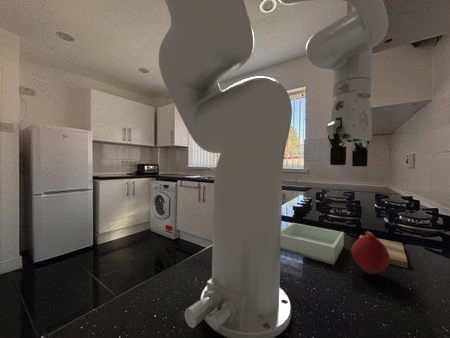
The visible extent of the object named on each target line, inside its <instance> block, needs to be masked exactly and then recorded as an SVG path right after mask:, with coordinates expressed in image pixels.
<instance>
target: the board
mask: <svg viewBox="0 0 450 338" xmlns="http://www.w3.org/2000/svg"><path fill="white" fill-rule="evenodd" d="M363 236H364V235H362V234H360V235H359V237H358V239H359V238H361V237H363ZM376 238H377V237H376ZM377 239H378V240H379V241H381V242H382V244H383V245H384V246H385V248H386V249H387V251H388V254H389V259H390V260H389V265H393V266H397V267H402V268H406V269H408V259H407V256H406V252H405V248H404V245H403V243H402V242H398V241H393V240H387V239H383V238H377Z"/></svg>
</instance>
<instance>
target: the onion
mask: <svg viewBox="0 0 450 338" xmlns="http://www.w3.org/2000/svg"><path fill="white" fill-rule="evenodd" d="M364 234H365V235H362V236H363V237H361V238H359V237H358V239H356V240H355V241H354V242H353V244H352V246H351V249H350V250H351V256H352V259H353V261H354V262H355V263H356V265H358V266H359V268H361V269H362V270H363V271H364V272H365V273H366V274H368V275H373V274H378V273H381V272H383V271H384V270H386V269H387V267H388V266H389V265H390V264H389V260H390V259H389V254H388V251H387V249H386V248H385V246H384V245H383V244H382V242H381V241H379V240H378V239H379V238H378V239H377V237H376V236H375V235H374V234H373V233H372V232H370V231H365V233H364Z"/></svg>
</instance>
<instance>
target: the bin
mask: <svg viewBox="0 0 450 338" xmlns="http://www.w3.org/2000/svg"><path fill="white" fill-rule="evenodd" d="M344 239H345V232H344V231H338V230H333V229H329V228H328V229H327V228H323V227H316V226H311V225H307V224H301V223H295V222H292V223H290V224H289V225H287V226H286V227H284V228H281V246H280V249H282V250H281V251H283V250H284V252H287V253H290V254H295V255H298V256H302V257H306V258H307V259H308V258H309V259H311V260H312V259H313V260H315V261H319V262H321V263H322V262H323V263H326V264H329V265H332V266H334V265H335V264H336V262H337V260H338V258H339V256H340V254H341V252H342V250H343V248H344V246H345V245H344V243H345V241H344Z"/></svg>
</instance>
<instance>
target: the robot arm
mask: <svg viewBox="0 0 450 338" xmlns="http://www.w3.org/2000/svg"><path fill="white" fill-rule="evenodd" d="M278 1H279V2H280V3H281V4H282V5H287V6H288V5H295V4H299V3H300V4H301V3H304V2H311V1H312V0H278ZM342 1H344V2H346V3H348V4H349V5H351V6H352V7H353V8H354V9H355V10H353V11H351V12H349V13H348V14H346V15H344V16H342V17H340V18H339V19H337V20H336V21H333V22H332V23H331V24H330V25H327V26H326V27H324V28H322V29H321V30H319V31H317V32H316V33H314V34H313V35H312V36H311V37H309V40H308V41H307V42H306V46H305V53H306V54H305V55H306V57H307V59H308V61H309V62H310V63H311V64H312V65H314V66H315V67H317V68H320V69H326V70H331V71H333V87H332V88H333V89H332V90H333V91H332V106H331V107H332V108H331V115H330V117H331V118H330V123H329V124H326V132H327V139H328V141H329V145H328V146H329V148H330V151H329V152H330V153H329V154H330V156H329V157H330V159H329V165H331V166H346V164H347V146H345V145H346V143H351V144H352V147H353V150H352V152H351V153H352V154H351V155H352V158H351V166H352V167H368V158H369V156H368V155H369V154H368V153H369V152H368V151H369V144H370V141H371V140H372V139H373V121H372V120H373V119H372V118H373V116H372V105H371V99H370V98H371V97H372V73H373V72H372V68H373V48H375V47H376V46H377V45H380V43H381V42H383V40H384V39H385V38H386V35H387V32H388V29H389V16H388V13H387V11H388V10H387V8H386V6H385V2H384V0H342ZM165 4H166V6H167V10H168V12H169V15H170V27H169V29H168V30H167V32H166V34H165V35H164V37H163V39H162V41H161V43H160V46H159V51H158V66H159V72H160V74H161V78H162V81H163V84H164V86H165V88H166V90H167V92H168V94H169V96H170V97H171V99H172V102H173V104H174V106H175V108H176V110H177V112H178V114H179V116H180V117H181V120H182V122H183V124H184V126H185V127H186V130H187V132H188V133H189V135H190V136H191V138H192V139H193V141H194V142H195V144H196V145H197V146H198V147H200V148H201V150H203V151H206V152H208V153H212V154H219V156H218V160H217V163H216V166H215V171H214V179H213V212H212V213H213V214H212V215H213V217H212V250H211V251H212V252H211V253H212V260H211V278H210V279H208V280H207V281H206V282H207V283H206V286H205V287H204V288H203V290H202V292H201V295H200V300H197V301H196V302H194V303H193V304H191V305H190V306H189V307H188V308H186V309H185V311H184V319H185V322H186V325H187V326H189V327H190V328H193V329H194V328H195V327H196V326H198V325H199V324H200V323H201V322H203V321H204V322H205V323H206V324H207V325H208V326H209V327H210V329H211V328H212V330H214V331H215V332H217V333H218V334H220V335H222V336H223V337H226V338H276V337H277V336H278V335H280V334H282V333H283V332H284V331H285V330H286V329H287V327H288V326H289V325H290V321H291V318H292V317H291V316H292V306H291V304H292V303H291V300H290V299H289V296H288V295H287V294H286V292H285V291H284V290H283V289H282V288H281V287H280V286H281V285H280V283H281V282H280V280H281V279H280V278H281V277H280V276H281V250H280V246H281V230H282V204H283V203H282V201H283V198H282V196H283V195H282V192H283V191H282V190H283V174H284V173H283V172H284V171H283V170H284V160H285V155H286V154H285V153H286V147H287V144H288V143H287V142H288V139H289V134H290V131H291V126H292V125H291V124H292V118H293V110H292V109H293V107H292V102H291V97H290V95H289V93H288V91H287V89H286V88H285V87H284V86H283V84H281V83H280V82H279V81H278V80H276V79H274V78H271V77H269V76H253V77H249V78H245V79H242V80H241V81H238V82H235V83H234V84H232V85H230V86H229V87H227V88H225V89H221V86H220V83H219V82H221V81H222V80H224V79H226V78H227V77H230V76H231V75H232V74H233V73H235V72H236V71H238V70H239V69H241V68H242V67H243V66H244V65H245V64H246V63H247V62H248V60H250V58H251V56H252V54H253V52H254V48H255V38H254V37H255V35H254V30H253V27H252V23H251V20H250V17H249V13H248V10H247V7H246V4H245V1H244V0H165Z"/></svg>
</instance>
